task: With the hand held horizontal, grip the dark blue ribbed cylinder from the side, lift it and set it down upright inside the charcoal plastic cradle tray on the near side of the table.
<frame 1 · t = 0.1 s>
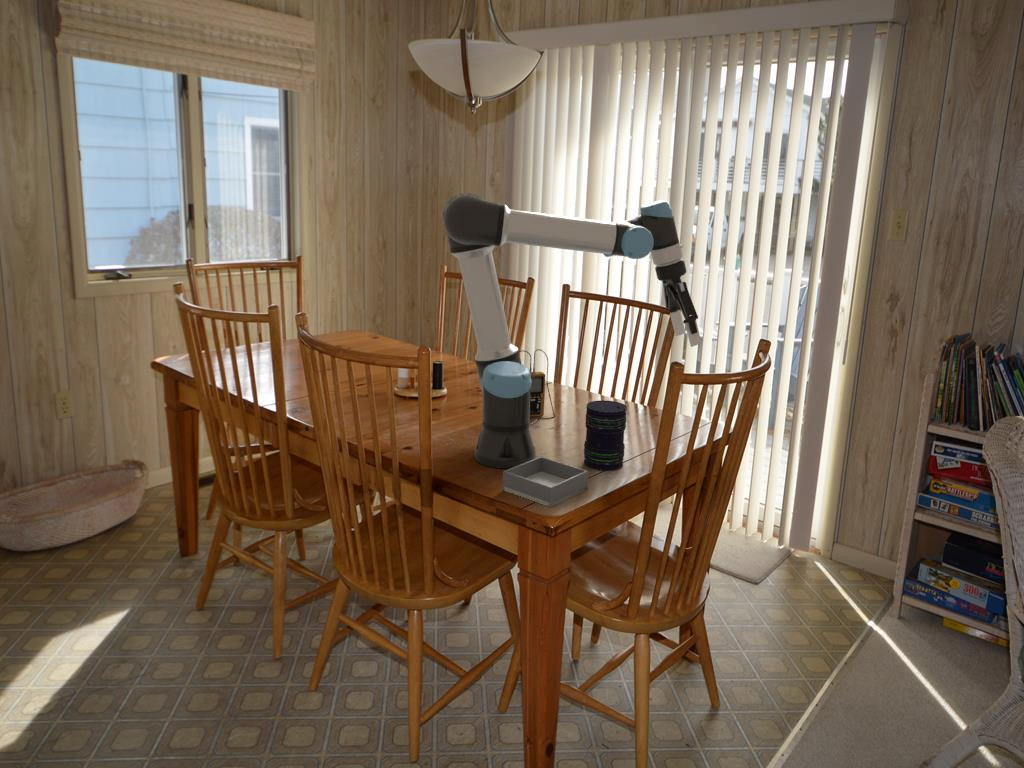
hand: (688, 339, 205), 28 cm above the table, tool tilted 20°, fingers open, 13 cm apart
cradle tray: (545, 489, 176), on the table
multimeter: (534, 420, 227), on the table
dark blue ribbed cylinder: (603, 464, 193), on the table
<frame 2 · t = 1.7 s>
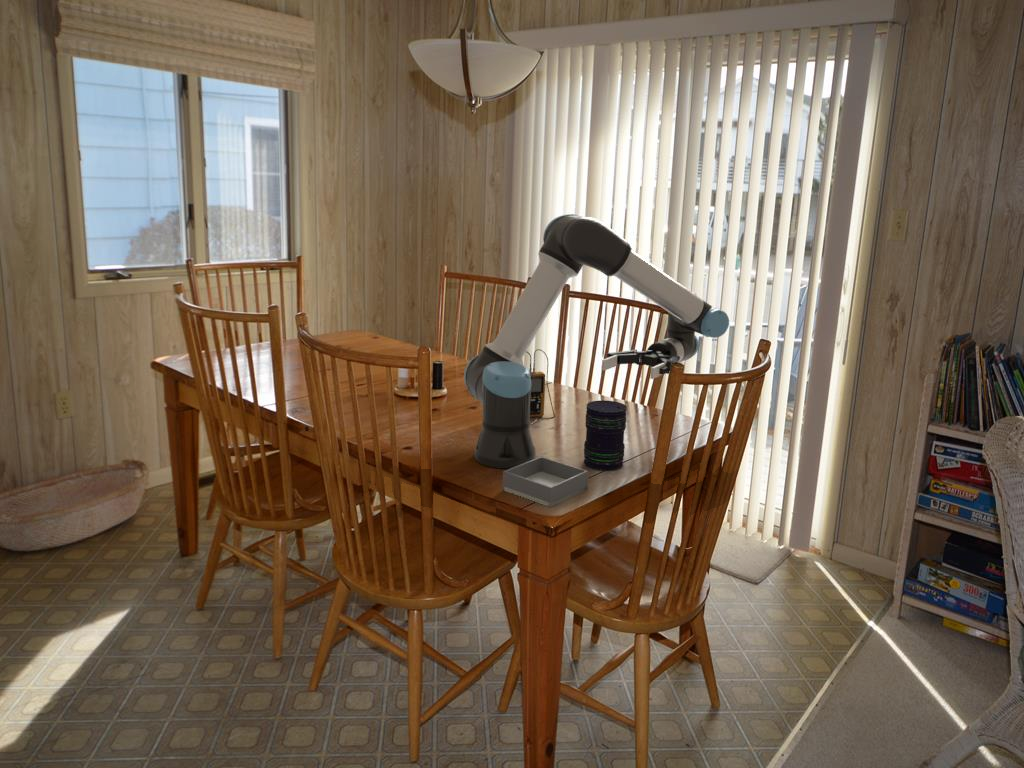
hand: (627, 369, 195), 22 cm above the table, tool horizontal, fingers open, 13 cm apart
nothing on the table moved.
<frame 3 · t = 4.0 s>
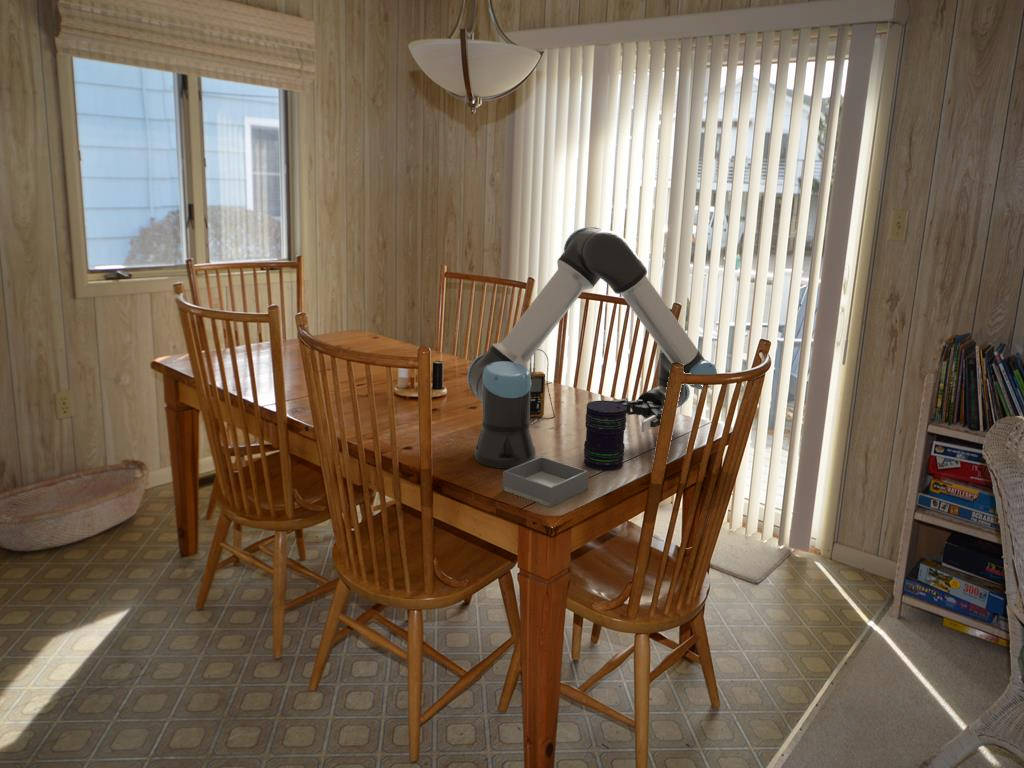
hand: (618, 421, 194), 10 cm above the table, tool horizontal, fingers open, 13 cm apart
nothing on the table moved.
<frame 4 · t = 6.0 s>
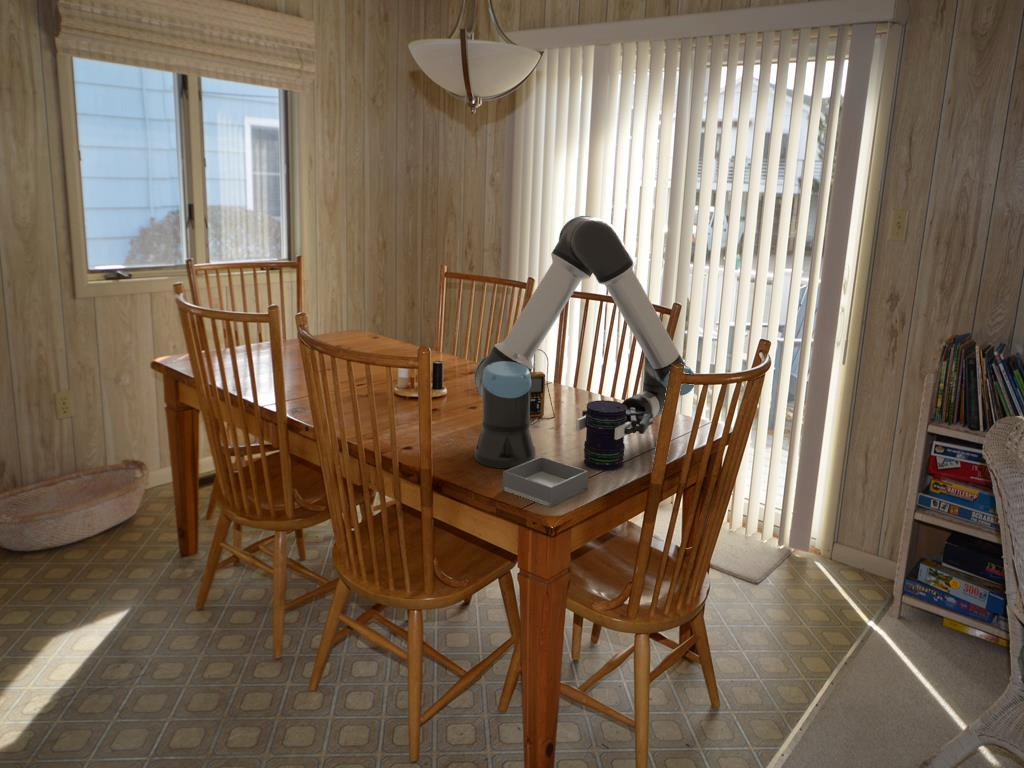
hand: (596, 429, 187), 10 cm above the table, tool horizontal, fingers closed on dark blue ribbed cylinder, 10 cm apart
dark blue ribbed cylinder: (603, 464, 193), on the table, touching gripper
everything else where it was.
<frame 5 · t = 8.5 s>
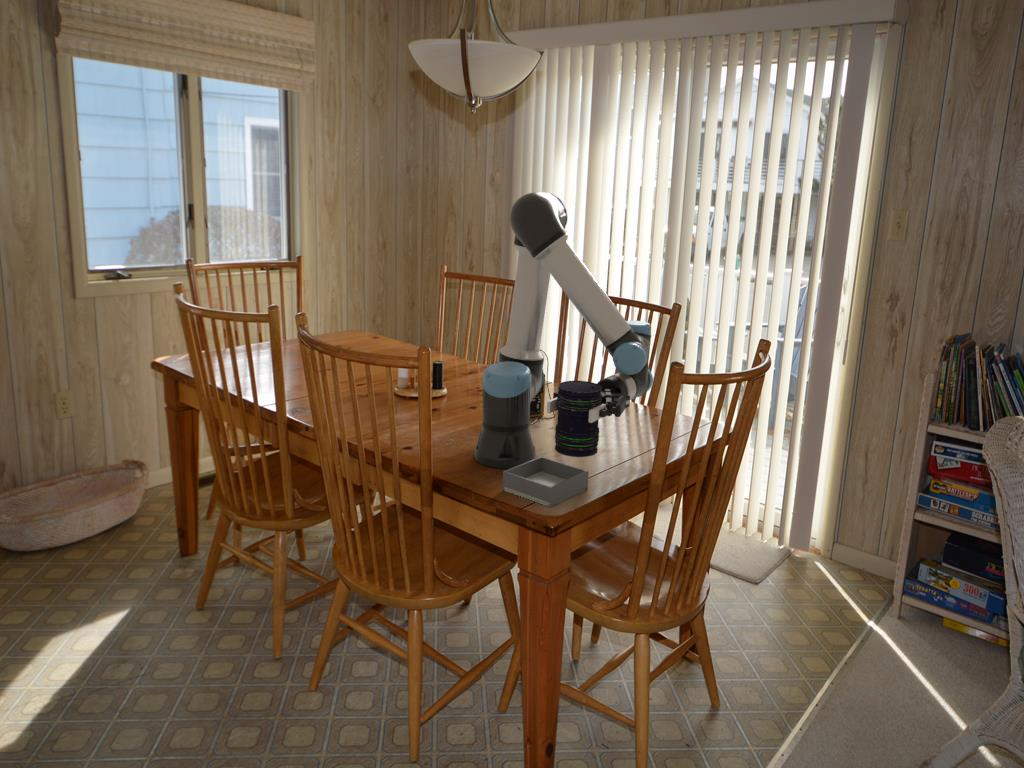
hand: (569, 411, 171), 19 cm above the table, tool horizontal, fingers closed on dark blue ribbed cylinder, 10 cm apart
dark blue ribbed cylinder: (576, 450, 177), point 8 cm above the table, touching gripper
everything else where it was.
when the fingers open (12 cm above the table, at t = 10.9 s): dark blue ribbed cylinder drops 1 cm, resting on cradle tray.
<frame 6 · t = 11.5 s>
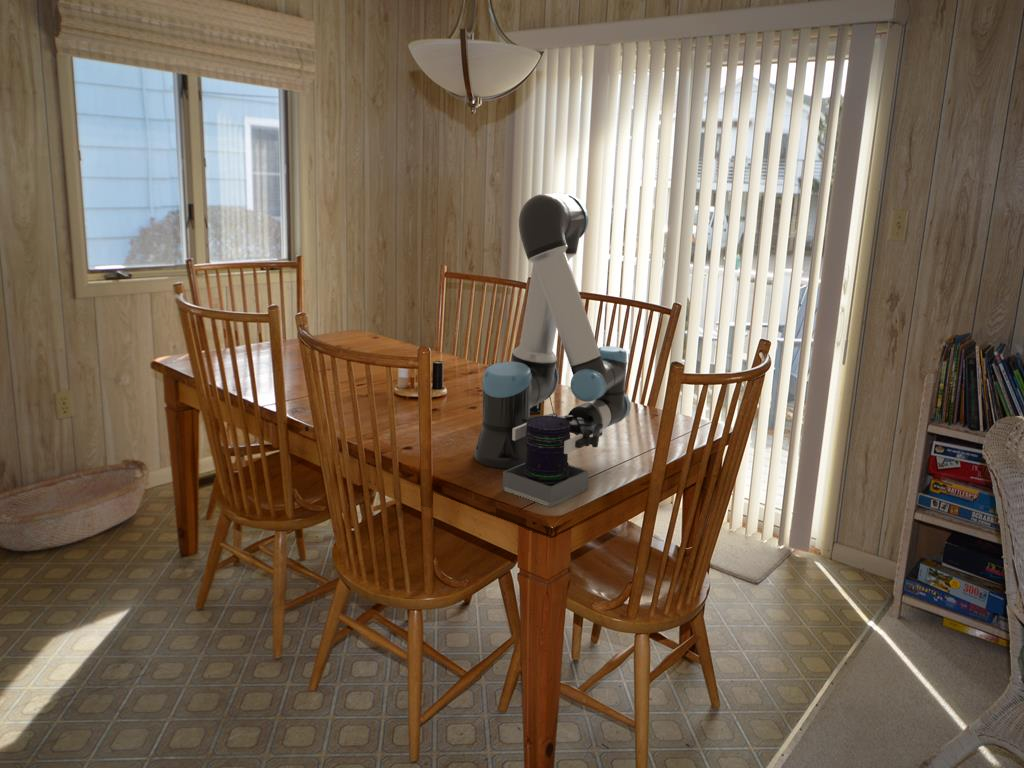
hand: (538, 441, 170), 12 cm above the table, tool horizontal, fingers open, 13 cm apart
dark blue ribbed cylinder: (545, 486, 176), point 1 cm above the table, touching cradle tray
everything else where it was.
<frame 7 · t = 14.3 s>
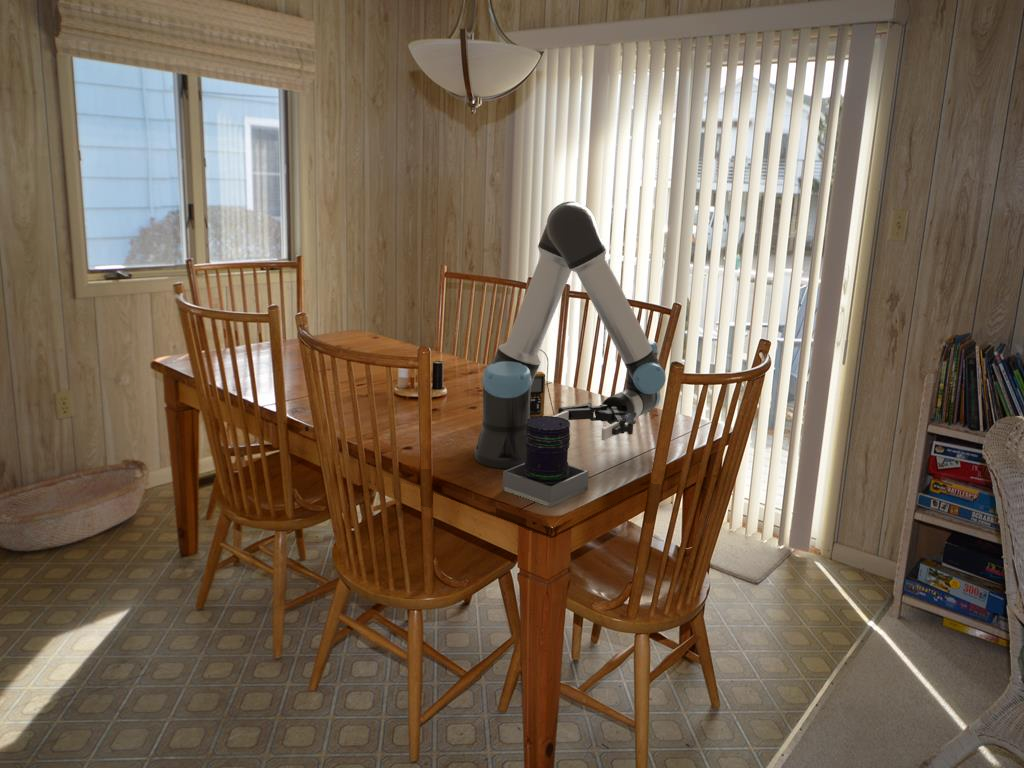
hand: (577, 428, 179), 13 cm above the table, tool horizontal, fingers open, 13 cm apart
nothing on the table moved.
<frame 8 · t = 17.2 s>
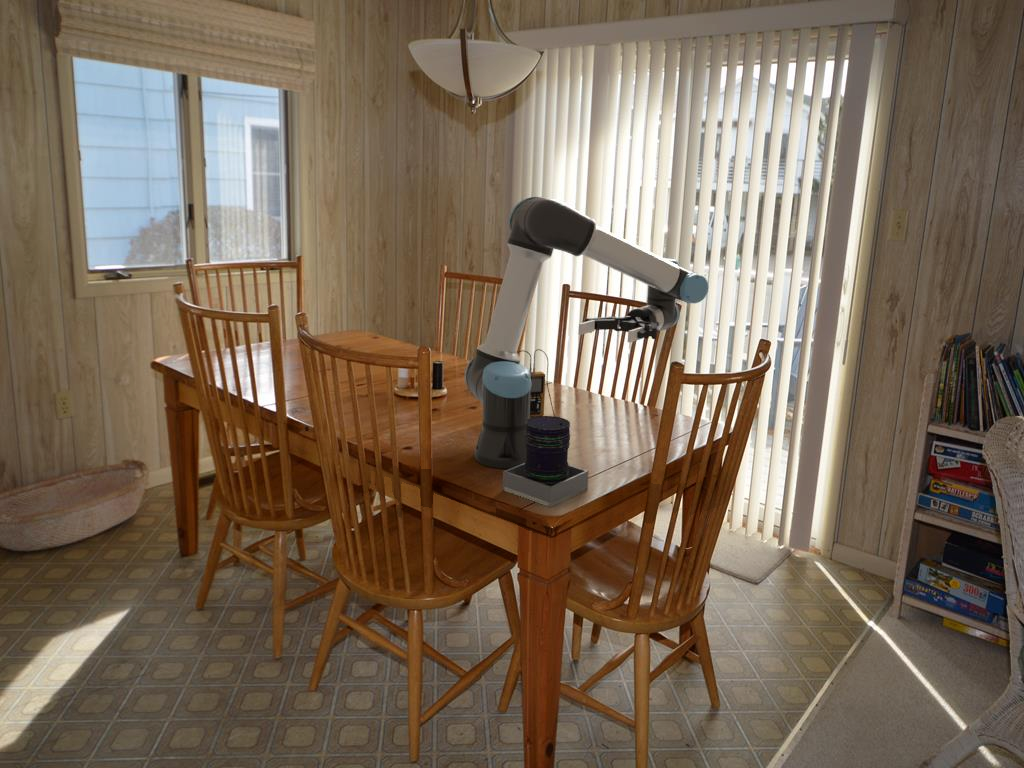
hand: (604, 332, 189), 32 cm above the table, tool horizontal, fingers open, 13 cm apart
nothing on the table moved.
at the end: dark blue ribbed cylinder 0.1 cm off-centre on the cradle tray, point 0.8 cm above the cradle tray's base; dark blue ribbed cylinder tilted 0°; the gripper is holding nothing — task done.
